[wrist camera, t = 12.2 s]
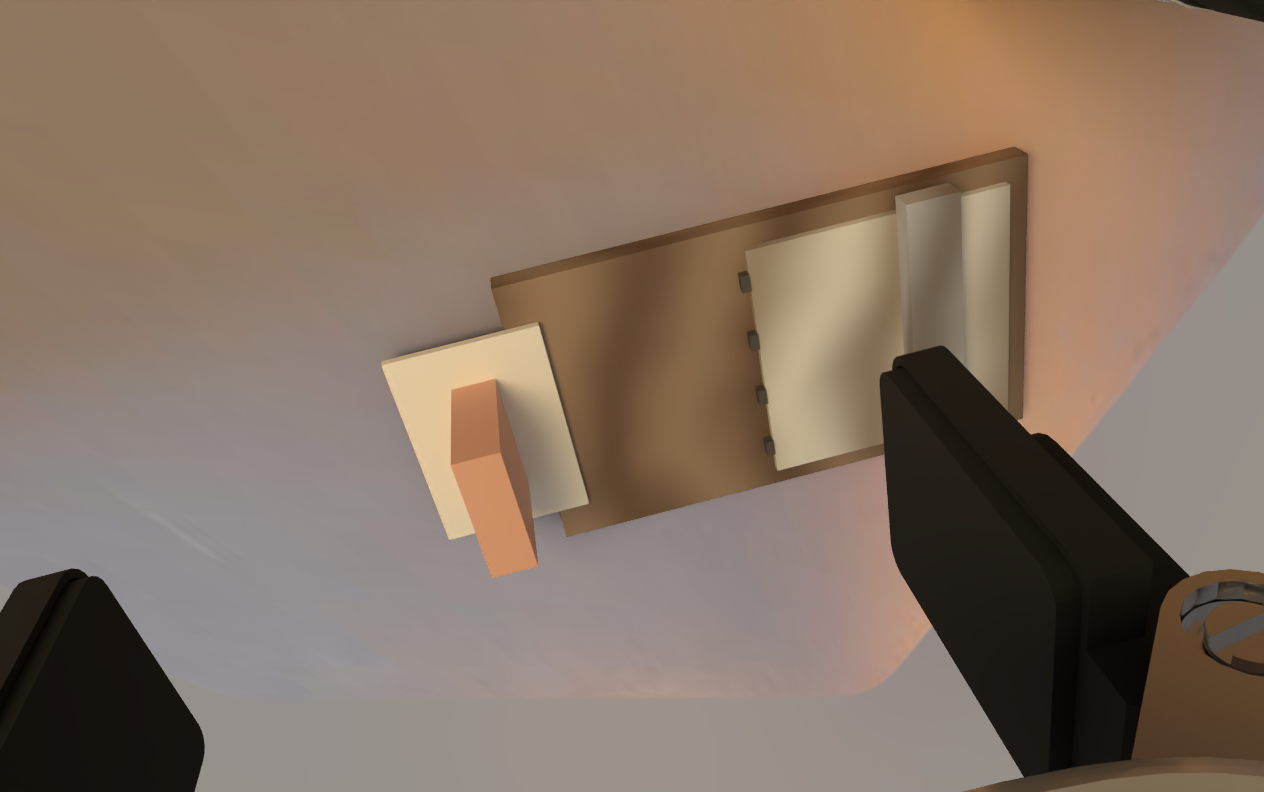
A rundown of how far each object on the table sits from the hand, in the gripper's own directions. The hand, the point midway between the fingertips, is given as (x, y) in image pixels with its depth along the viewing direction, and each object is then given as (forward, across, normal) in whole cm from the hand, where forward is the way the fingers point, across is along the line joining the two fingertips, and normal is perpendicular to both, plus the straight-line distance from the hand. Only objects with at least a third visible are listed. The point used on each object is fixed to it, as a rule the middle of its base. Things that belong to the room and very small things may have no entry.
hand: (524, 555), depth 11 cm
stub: (+29, +4, +16) cm, 33 cm away
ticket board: (+30, -10, +16) cm, 36 cm away
